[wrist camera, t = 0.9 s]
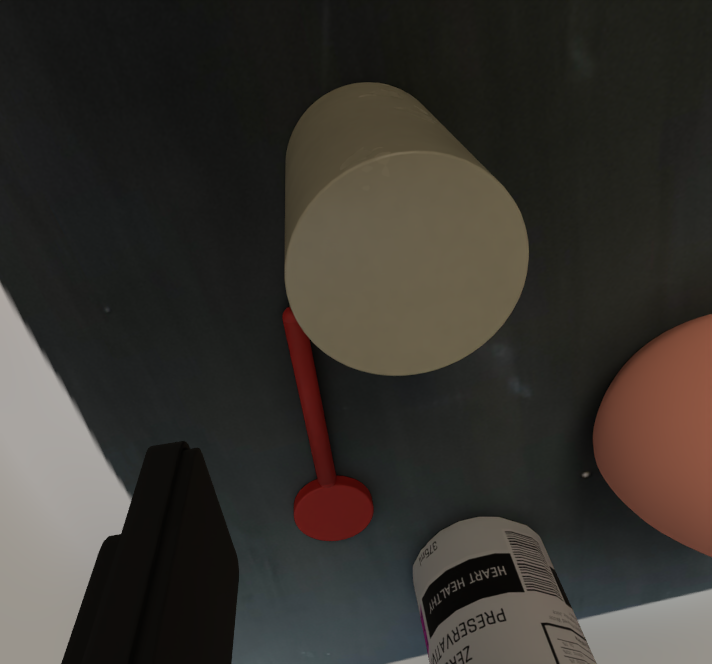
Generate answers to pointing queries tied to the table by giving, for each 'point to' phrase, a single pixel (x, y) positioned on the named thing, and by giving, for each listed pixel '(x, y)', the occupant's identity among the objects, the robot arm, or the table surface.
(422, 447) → the table surface
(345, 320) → the beige cylinder
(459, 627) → the supplement can
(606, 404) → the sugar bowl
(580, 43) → the table surface
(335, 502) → the spoon
